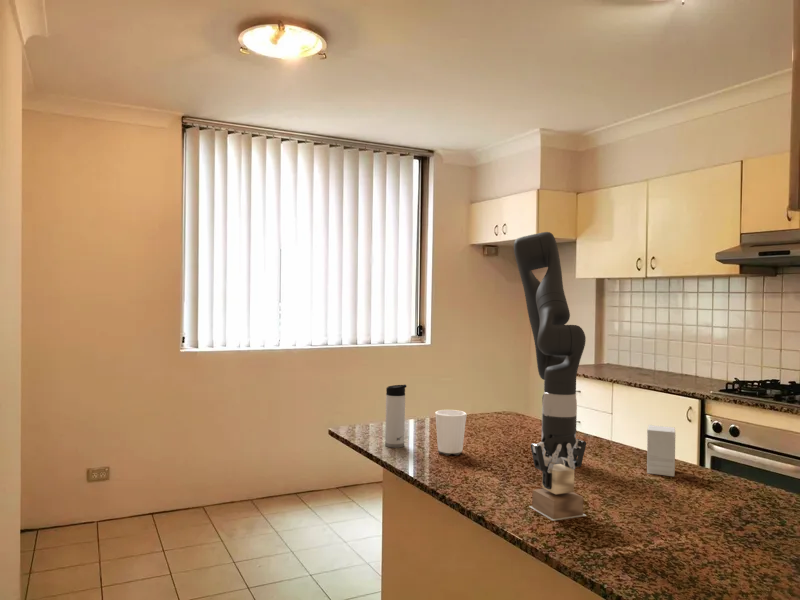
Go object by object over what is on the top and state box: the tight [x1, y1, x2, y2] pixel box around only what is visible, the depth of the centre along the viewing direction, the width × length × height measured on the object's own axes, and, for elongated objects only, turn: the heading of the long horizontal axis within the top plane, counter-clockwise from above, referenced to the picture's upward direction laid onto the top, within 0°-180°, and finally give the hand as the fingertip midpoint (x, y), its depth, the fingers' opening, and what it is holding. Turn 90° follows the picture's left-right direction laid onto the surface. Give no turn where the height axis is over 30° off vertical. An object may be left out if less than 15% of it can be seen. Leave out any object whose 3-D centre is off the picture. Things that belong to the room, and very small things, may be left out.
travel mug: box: [384, 384, 407, 449], centre depth 198 cm, size 6×7×20 cm
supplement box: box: [646, 424, 676, 477], centre depth 174 cm, size 7×7×13 cm
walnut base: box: [531, 488, 584, 519], centre depth 138 cm, size 8×8×4 cm
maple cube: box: [541, 464, 575, 494], centre depth 138 cm, size 5×5×5 cm
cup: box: [434, 409, 467, 457], centre depth 190 cm, size 10×10×13 cm
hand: (557, 486), depth 138 cm, fingers closed on maple cube, 4 cm apart
